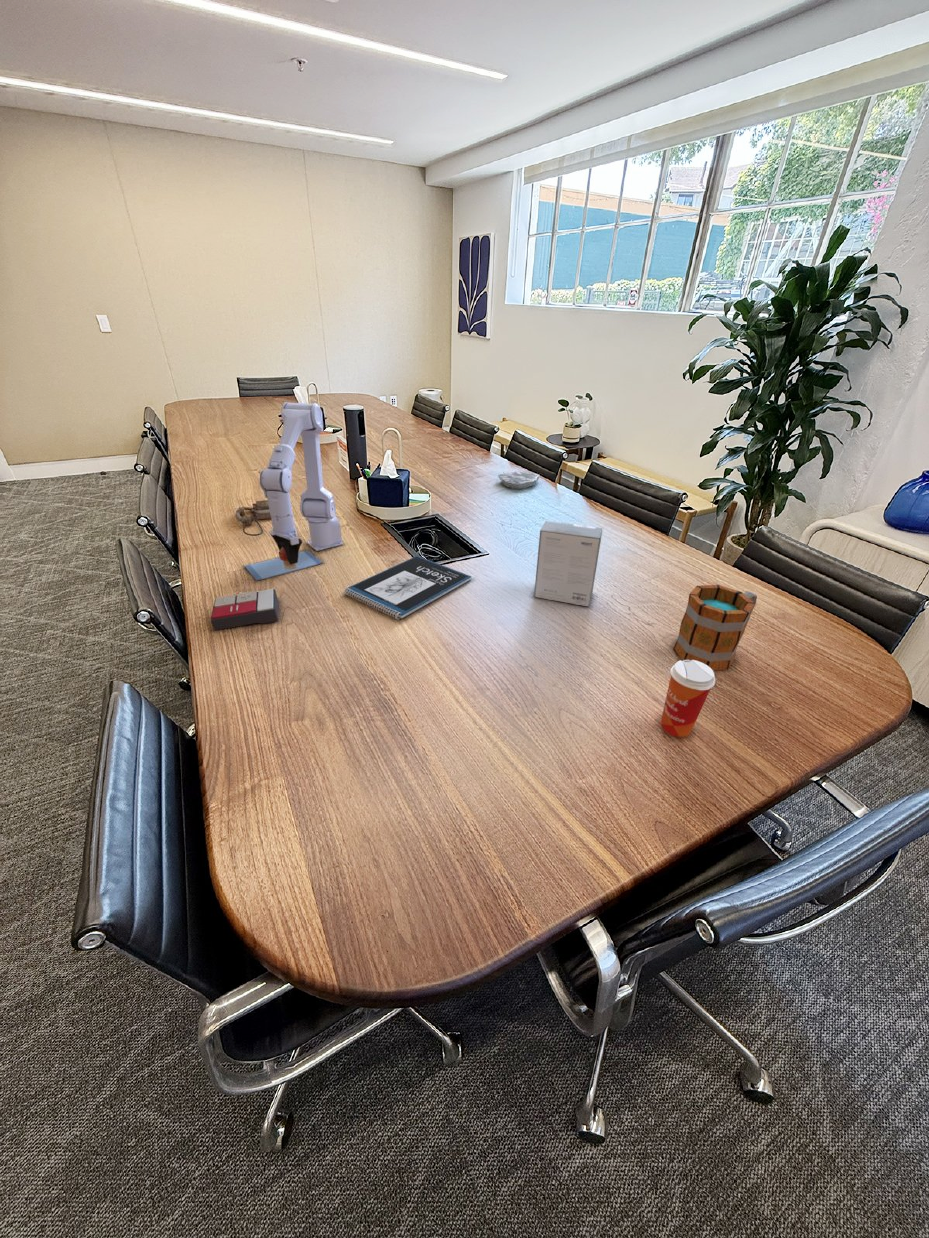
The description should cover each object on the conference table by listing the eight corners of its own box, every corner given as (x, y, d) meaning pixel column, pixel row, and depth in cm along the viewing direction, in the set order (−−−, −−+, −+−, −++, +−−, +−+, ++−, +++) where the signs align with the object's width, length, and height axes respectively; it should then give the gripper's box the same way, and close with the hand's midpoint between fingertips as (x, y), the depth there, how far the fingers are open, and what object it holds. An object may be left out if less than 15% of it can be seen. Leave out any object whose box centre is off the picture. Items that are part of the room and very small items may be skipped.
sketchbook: (471, 580, 150) (471, 574, 148) (398, 622, 129) (398, 615, 128) (417, 559, 161) (417, 553, 159) (342, 594, 140) (341, 588, 139)
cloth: (308, 551, 164) (308, 550, 164) (322, 563, 157) (322, 562, 156) (244, 567, 154) (244, 566, 153) (256, 581, 146) (256, 580, 146)
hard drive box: (592, 594, 143) (604, 528, 133) (589, 607, 137) (601, 538, 127) (538, 585, 148) (545, 519, 137) (532, 597, 141) (539, 529, 131)
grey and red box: (213, 596, 131) (274, 586, 135) (218, 610, 133) (278, 600, 137) (209, 618, 122) (274, 606, 126) (214, 632, 125) (278, 621, 128)
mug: (707, 678, 113) (728, 620, 105) (660, 646, 122) (676, 592, 114) (763, 654, 121) (786, 599, 113) (715, 626, 131) (733, 574, 123)
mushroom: (296, 561, 149) (292, 540, 145) (303, 567, 145) (299, 546, 142) (278, 565, 146) (274, 544, 143) (285, 572, 143) (281, 550, 139)
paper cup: (648, 714, 102) (665, 658, 95) (685, 712, 103) (704, 656, 96) (665, 743, 96) (683, 685, 88) (704, 741, 96) (726, 683, 89)
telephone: (239, 540, 169) (236, 528, 167) (235, 508, 195) (233, 497, 192) (286, 536, 174) (285, 524, 172) (276, 505, 200) (275, 494, 198)
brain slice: (512, 475, 239) (512, 468, 237) (544, 482, 231) (545, 475, 229) (489, 485, 225) (489, 478, 224) (522, 493, 217) (523, 486, 215)
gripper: (257, 508, 140) (266, 554, 147) (276, 525, 130) (285, 572, 138) (282, 503, 144) (290, 548, 151) (303, 519, 134) (310, 566, 141)
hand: (289, 559), depth 145 cm, fingers closed on mushroom, 5 cm apart
